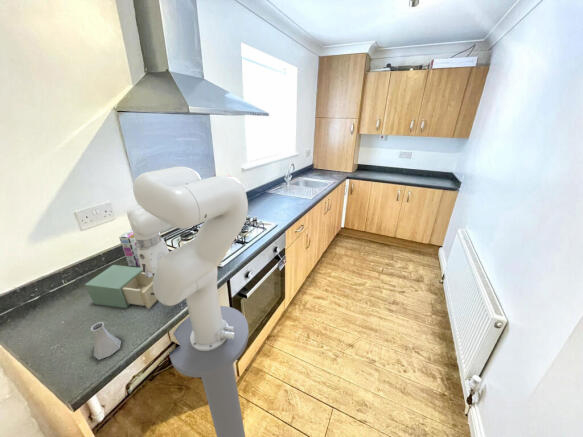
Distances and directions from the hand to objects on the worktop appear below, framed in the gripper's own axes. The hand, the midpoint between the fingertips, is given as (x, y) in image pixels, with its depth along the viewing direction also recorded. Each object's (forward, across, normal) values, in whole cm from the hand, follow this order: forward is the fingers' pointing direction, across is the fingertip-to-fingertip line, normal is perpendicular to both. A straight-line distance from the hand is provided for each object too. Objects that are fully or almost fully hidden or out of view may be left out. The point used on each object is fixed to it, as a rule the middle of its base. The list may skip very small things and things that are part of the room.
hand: (161, 281), depth 89 cm
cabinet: (+9, 0, +20) cm, 22 cm away
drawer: (+9, 0, +7) cm, 11 cm away
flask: (+10, -22, +6) cm, 24 cm away
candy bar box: (+9, +23, +32) cm, 40 cm away
